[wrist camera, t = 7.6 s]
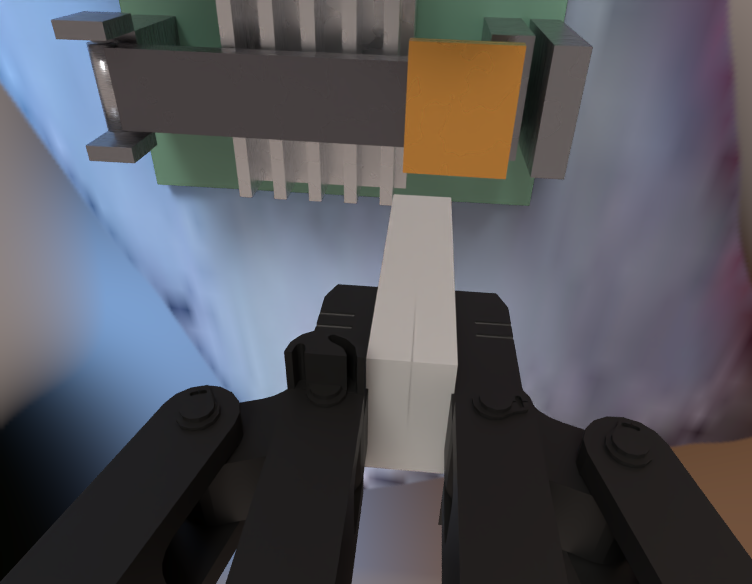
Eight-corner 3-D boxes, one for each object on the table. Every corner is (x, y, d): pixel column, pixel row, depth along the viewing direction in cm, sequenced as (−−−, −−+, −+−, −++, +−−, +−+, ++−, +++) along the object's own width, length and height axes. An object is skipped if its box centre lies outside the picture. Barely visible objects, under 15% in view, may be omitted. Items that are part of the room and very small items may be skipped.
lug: (484, 16, 31) (495, 42, 24) (560, 19, 30) (592, 46, 24) (471, 126, 34) (478, 174, 27) (540, 129, 34) (563, 179, 27)
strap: (91, 19, 27) (66, 26, 26) (521, 37, 25) (526, 45, 24) (120, 140, 31) (100, 153, 29) (502, 163, 29) (505, 179, 27)
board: (108, -102, 30) (97, -103, 29) (579, -92, 29) (584, -92, 28) (164, 177, 39) (157, 184, 38) (526, 198, 37) (529, 205, 36)
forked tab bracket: (132, -2, 32) (50, 19, 25) (173, 0, 32) (102, 21, 25) (155, 115, 35) (89, 160, 29) (192, 117, 35) (134, 163, 29)
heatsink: (232, -55, 30) (195, -50, 25) (420, -49, 29) (416, -44, 25) (255, 161, 37) (229, 196, 32) (408, 169, 36) (403, 206, 31)
